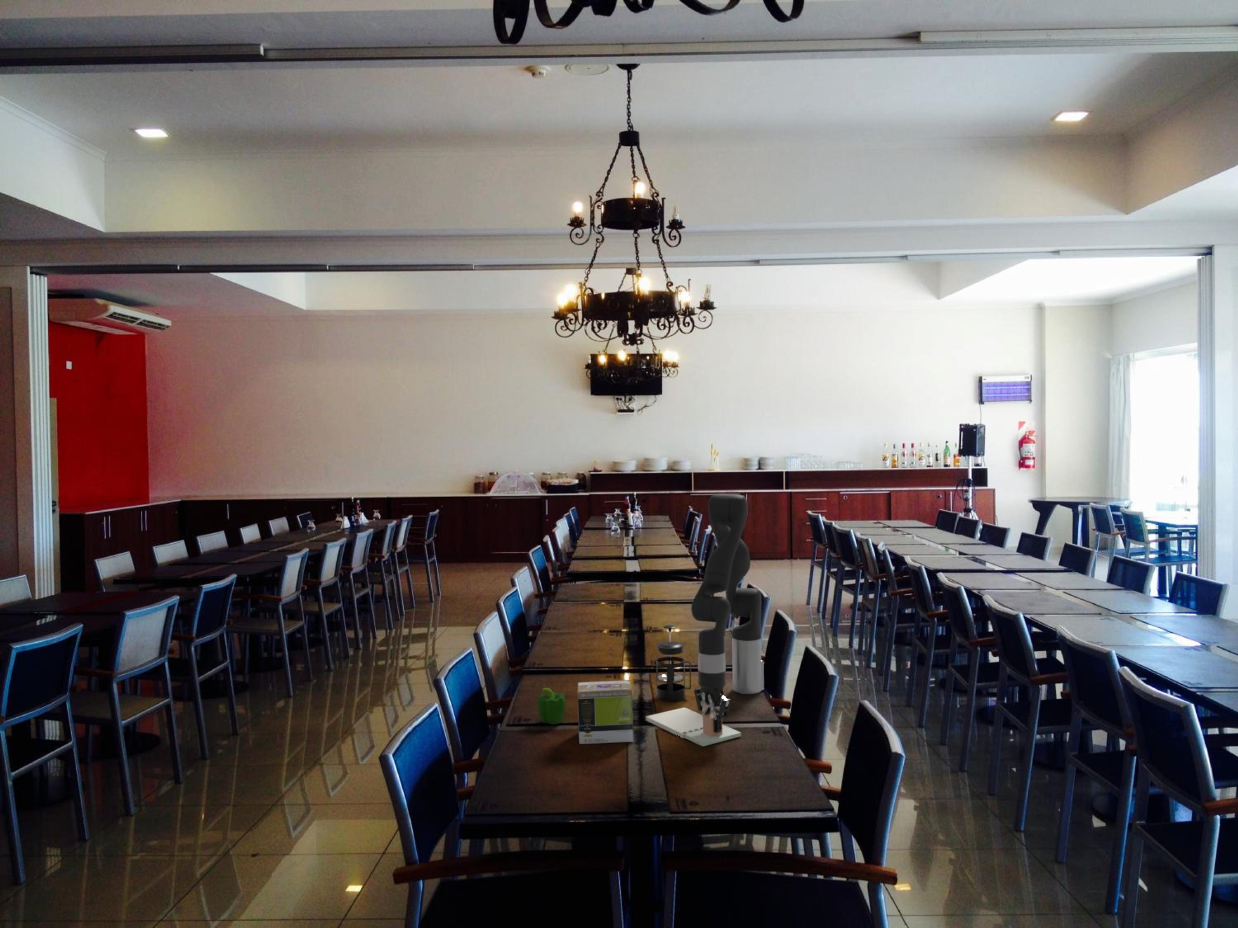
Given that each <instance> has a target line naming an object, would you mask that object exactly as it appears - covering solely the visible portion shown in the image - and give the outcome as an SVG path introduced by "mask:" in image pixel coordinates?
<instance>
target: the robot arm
mask: <svg viewBox="0 0 1238 928" xmlns="http://www.w3.org/2000/svg"><path fill="white" fill-rule="evenodd" d="M707 504H708V505H707V512H708V517H709V522H710V525H711V528H712V529H711V530H712V532H713V535H714V539H715V542H716V548H714V550H713V551H712V552H711V553H710V555H709V557H708V559H707V562H706V567H705V569H704V570H705V572H704V576H703V580H702V583H701V585H700V586H699V588H698V591H697V593H696V594H695V596H694V598H693V599H692V603H691V615H692V617H693V619H695V620H696V621H698V622H707V623H715V627H712V628H707V629H703V630H701V631H699V633H698V657H697V674H698V675H697V678H698V679H697V680H698V682H697V684H698V686H699V688H695V689H693V690H694V691H693V692H694V696H695V697H694V698H695V702H696V706H697V709H698V711H699V712H701V715H706V714H710V713H713V718H714V719H713V724H714V732H715V733H719V732H721V730H722V724H723V720H724V719H726V718H727V717H728V715H729V711H730V708H731V704H732V699H731V698H726V696H725V693H724V688H725V687H726V683H727V681H726V680H727V674H726V673H727V671H726V654H725V637H726V630H727V624H728V621H729V617H730V615H731V616H732V617H742V618H749V619H750V620H749V621H747V622H746V623H744V624H741V625H738V626H735V627H733V628H732V632H731V639H732V640H731V642H732V643H731V645H732V646H731V647H732V651H731V652H732V653H731V654H732V655H731V656H732V657H731V658H732V660H731V661H732V691H733V692H734V693H737V694H741V695H743V694H744V695H752V694H753V695H754V694H759V693H760V692H762V691H763V690H764V689H765V686H764V685H765V677H764V676H765V675H764V672H765V671H764V665H765V664H764V663H765V662H764V660H762V635H761V634H762V629H761V628H762V622H761V621H762V593H761V591H760V590H759V589H758V588H750V587H738V585H739V584H740V583H741V581H743V579H745V577H746V576H747V574H748V573H749V571H750V569H751V568H750V567H751V558H750V552H749V548H748V546H747V544H746V543H745V542H744V540H743V539H742V535H743V531H744V528H745V525H746V522H747V518H748V512H749V503H748V499H747V497H745V495H741V494H730V493H729V494H726V493H716V494H715V493H714V494H712V495H711V496H710V497H709V499H708V503H707ZM723 592H725V596H720V595H719V596H716V595H714V594H718V593H723ZM717 711H718V712H717ZM717 714H718V715H717Z"/></svg>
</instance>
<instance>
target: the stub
mask: <svg viewBox="0 0 1238 928" xmlns="http://www.w3.org/2000/svg"><path fill="white" fill-rule="evenodd" d="M702 715H703V714H702ZM717 715H718V713H717ZM713 719H714V718H713V712H711V713H710V714H706V715H703V730H699V731H695V732H691V733H687V734H685V738H684V739H687V740H689V741H691V742H692V743H694V744H696V745H699V746H701V747H706V746H710V745H713V744H717V743H721V742H724V741H729V740H733V739H735V738H741V737H742V732H740V731H739V730H736V729H734V728H731V727H729V726H727V725H724V724H723V725H722V730H721V732H719V733H715V732H714V724H713Z"/></svg>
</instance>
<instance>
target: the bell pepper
mask: <svg viewBox="0 0 1238 928" xmlns="http://www.w3.org/2000/svg"><path fill="white" fill-rule="evenodd" d="M542 691H543V692H544V693H543V694H540V695H539V697H538V699H537V702H536V703H537V704H536V705H537V706H536V707H537V711H538V715H539V717H540V721H541V722H542V723H543V724H544V723H545V724H550V725H557V724H560V723H561V722H563V720H564V717H565V713H566V708H567V707H566V706H567V705H566V703H567V701H566V697H565V694H564V693H562V692H561V693H557V692H554V691H553V690H552V689H550V688H549V687H544V688H542ZM545 692H548V694H547V693H545Z"/></svg>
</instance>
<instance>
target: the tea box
mask: <svg viewBox="0 0 1238 928" xmlns="http://www.w3.org/2000/svg"><path fill="white" fill-rule="evenodd" d="M632 693H633V692H632V686H631V680H630V679H623V680H602V681H601V680H600V681H582V682H581V681H580V682H577V719H578V723H577V724H578V725H577V726H578V743H579V744H580V745H585V744H586V745H589V744H591V745H592V744H608V743H609V744H610V743H611V744H612V743H634V720H633V719H634V718H633V717H634V715H633V694H632Z"/></svg>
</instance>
